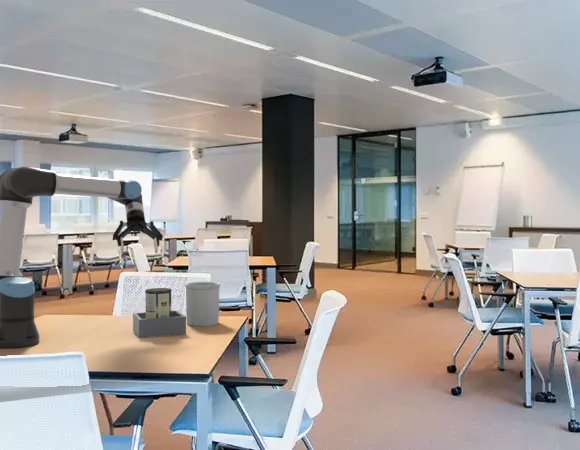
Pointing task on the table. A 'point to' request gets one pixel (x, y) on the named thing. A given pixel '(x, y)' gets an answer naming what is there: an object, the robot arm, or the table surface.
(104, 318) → the table surface
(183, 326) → the bin
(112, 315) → the table surface
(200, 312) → the utensil holder
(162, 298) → the coffee can
